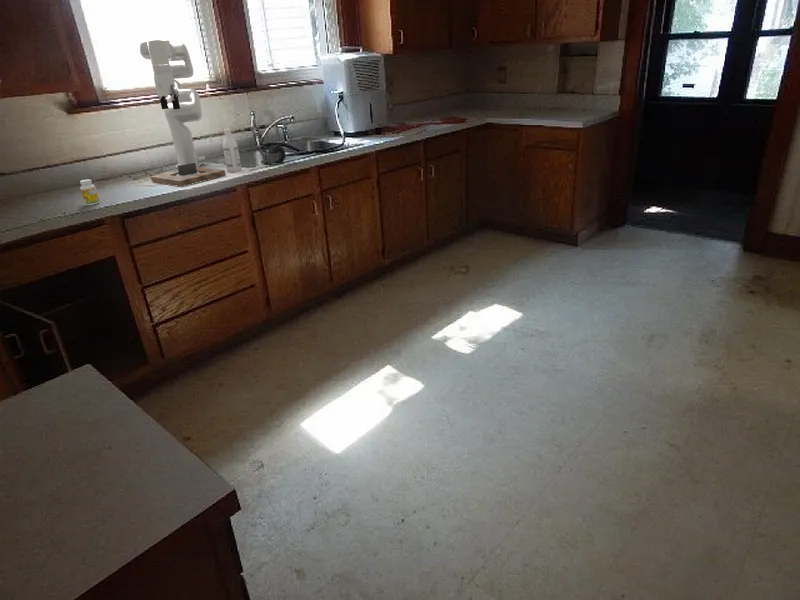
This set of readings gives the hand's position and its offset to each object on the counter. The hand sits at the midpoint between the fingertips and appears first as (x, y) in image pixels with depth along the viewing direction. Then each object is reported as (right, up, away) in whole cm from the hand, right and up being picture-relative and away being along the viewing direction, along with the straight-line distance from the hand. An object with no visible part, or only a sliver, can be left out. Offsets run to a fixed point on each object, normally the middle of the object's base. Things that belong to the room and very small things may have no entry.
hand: (171, 109), depth 249 cm
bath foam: (+26, -26, +13) cm, 39 cm away
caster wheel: (+43, -21, +22) cm, 53 cm away
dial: (+8, -32, +2) cm, 33 cm away
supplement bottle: (-17, -51, -33) cm, 63 cm away
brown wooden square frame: (+8, -32, +2) cm, 33 cm away
